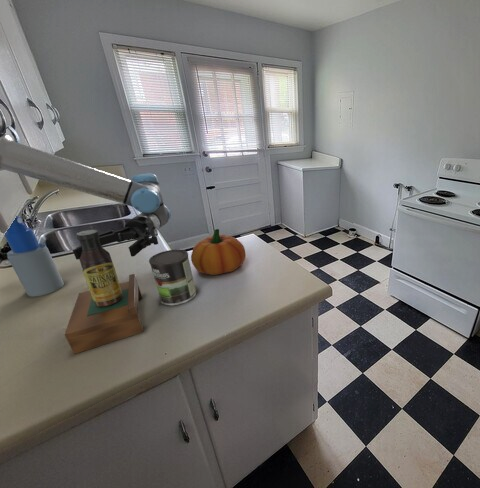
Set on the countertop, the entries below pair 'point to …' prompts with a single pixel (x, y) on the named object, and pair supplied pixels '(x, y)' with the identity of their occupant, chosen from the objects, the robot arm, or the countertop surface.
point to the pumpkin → (218, 254)
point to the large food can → (173, 276)
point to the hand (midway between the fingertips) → (103, 253)
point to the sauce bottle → (98, 270)
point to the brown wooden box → (104, 319)
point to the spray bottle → (31, 260)
